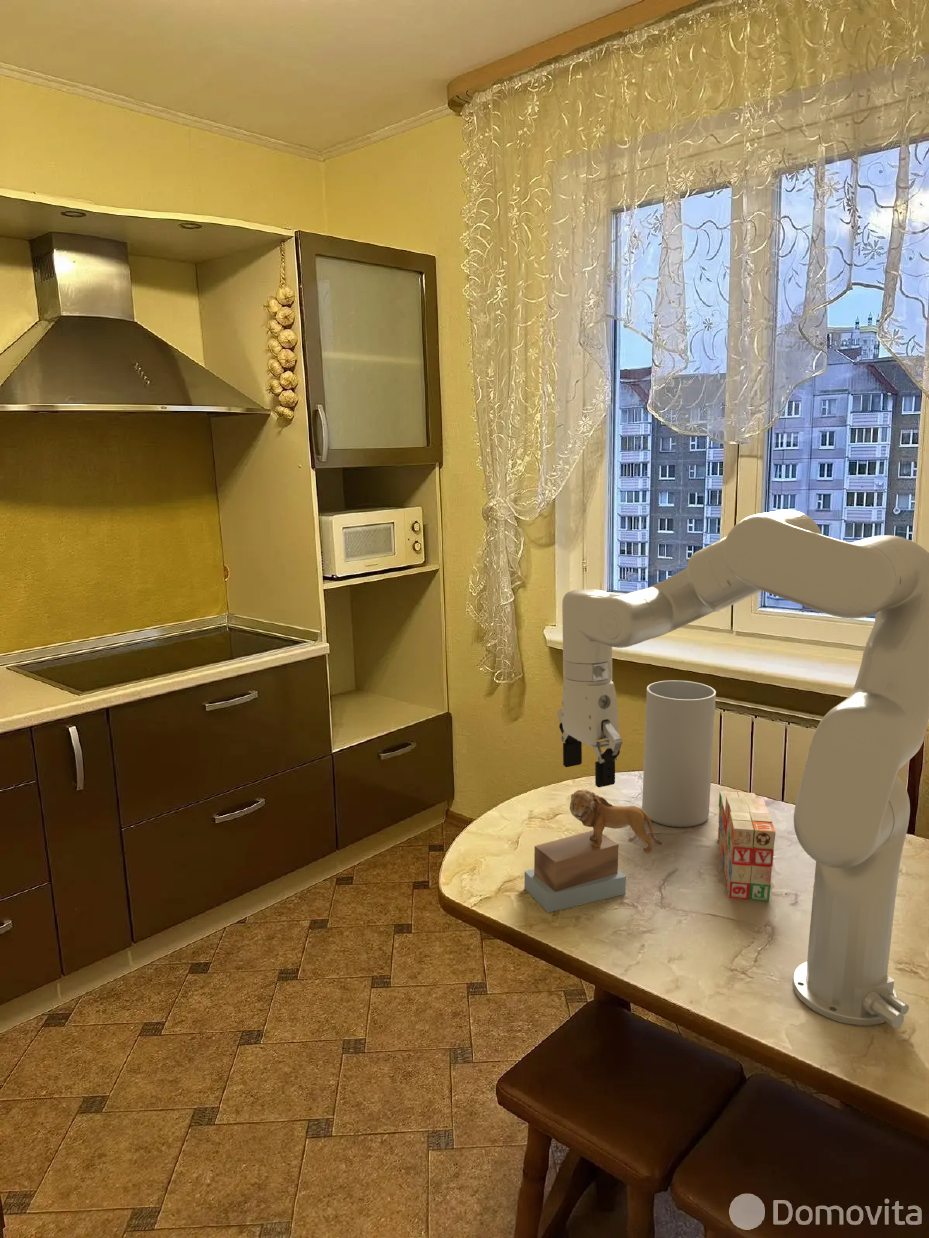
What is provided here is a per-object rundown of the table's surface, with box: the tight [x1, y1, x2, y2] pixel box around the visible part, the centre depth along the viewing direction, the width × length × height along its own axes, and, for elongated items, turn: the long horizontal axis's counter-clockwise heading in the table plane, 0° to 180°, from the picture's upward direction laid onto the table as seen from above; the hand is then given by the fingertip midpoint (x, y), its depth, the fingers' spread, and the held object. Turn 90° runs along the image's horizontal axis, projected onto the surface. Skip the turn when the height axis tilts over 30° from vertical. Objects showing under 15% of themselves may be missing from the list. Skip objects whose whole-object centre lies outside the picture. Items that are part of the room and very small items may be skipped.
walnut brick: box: [533, 830, 620, 892], centre depth 139 cm, size 6×12×5 cm, turn 118°
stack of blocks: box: [717, 790, 776, 902], centre depth 146 cm, size 21×6×12 cm, turn 169°
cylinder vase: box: [641, 679, 717, 828], centre depth 165 cm, size 12×12×25 cm
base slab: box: [524, 868, 627, 913], centre depth 139 cm, size 8×14×3 cm, turn 113°
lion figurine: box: [569, 789, 663, 854], centre depth 137 cm, size 15×5×9 cm, turn 84°
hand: (588, 774), depth 137 cm, fingers open, 9 cm apart
